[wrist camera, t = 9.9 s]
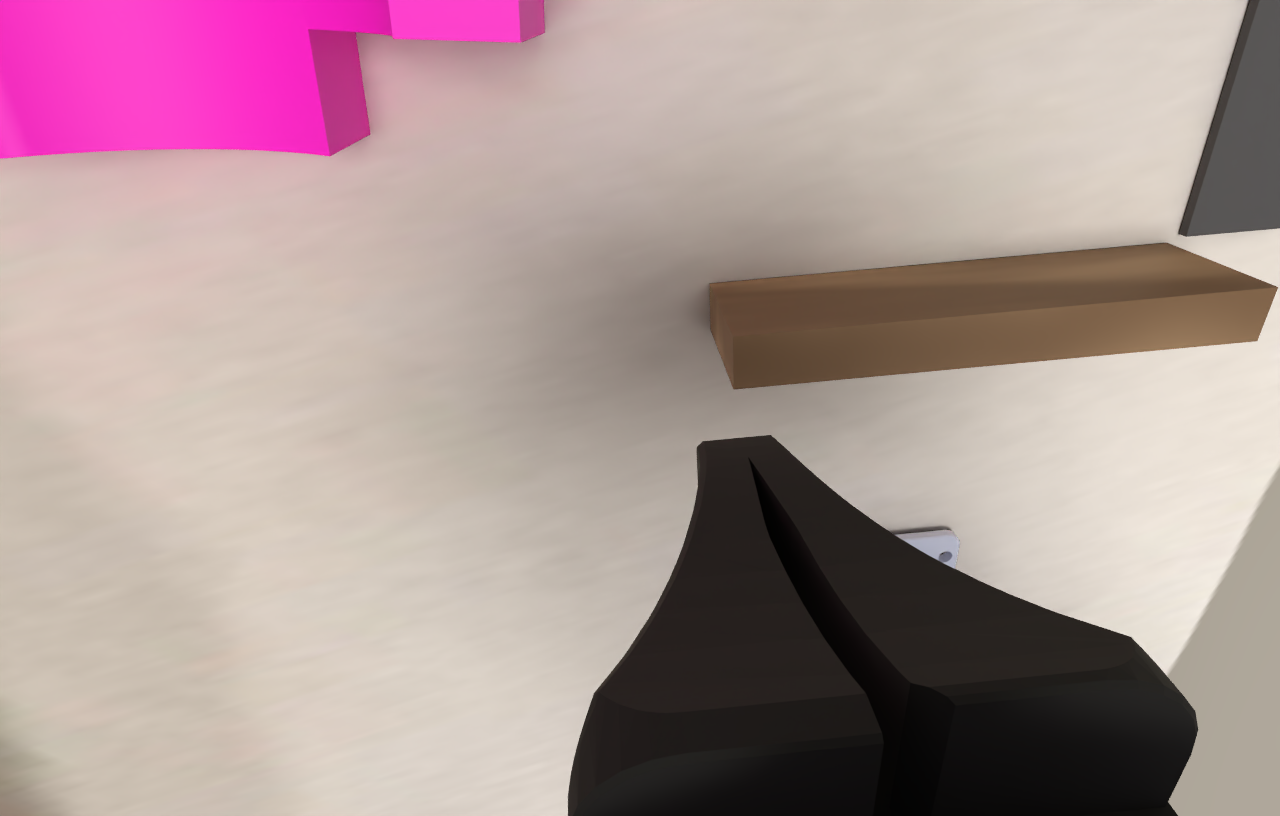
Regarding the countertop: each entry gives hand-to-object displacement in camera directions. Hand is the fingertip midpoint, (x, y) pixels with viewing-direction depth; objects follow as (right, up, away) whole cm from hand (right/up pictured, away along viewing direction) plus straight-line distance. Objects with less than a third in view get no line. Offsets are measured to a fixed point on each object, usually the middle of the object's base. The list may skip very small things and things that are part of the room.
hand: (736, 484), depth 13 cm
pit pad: (+16, +11, +7) cm, 20 cm away
